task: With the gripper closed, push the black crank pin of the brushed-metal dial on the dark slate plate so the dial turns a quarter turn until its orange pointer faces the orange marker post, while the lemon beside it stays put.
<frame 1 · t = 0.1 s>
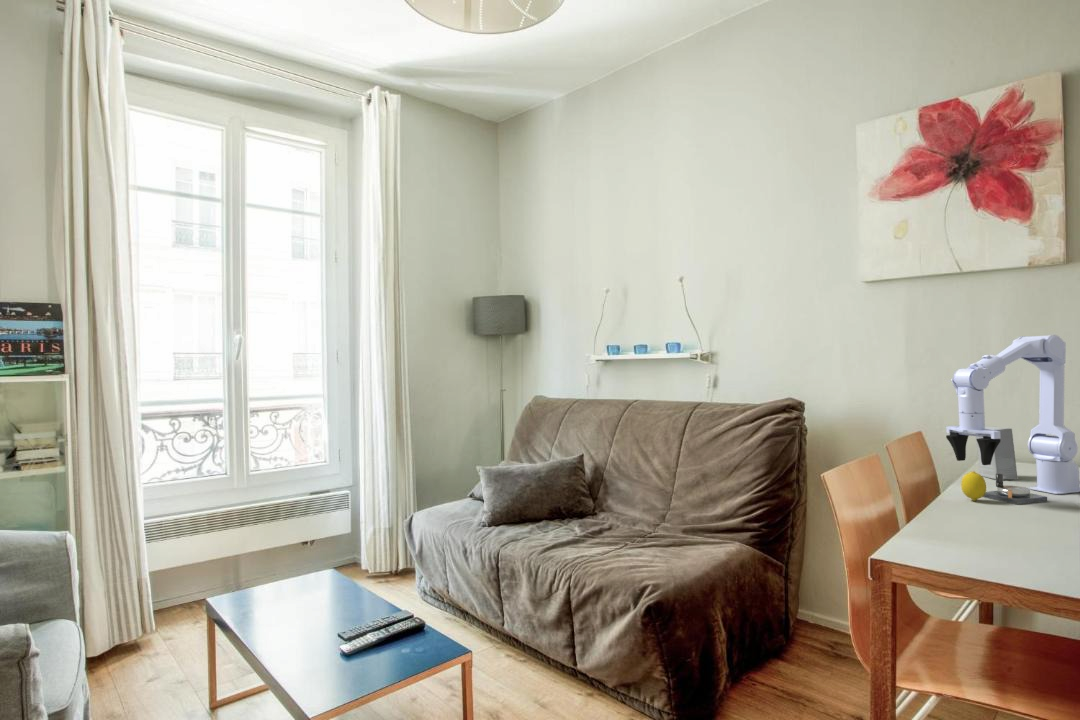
hand: (973, 462, 167), 10 cm above the table, fingers open, 7 cm apart
lemon: (974, 501, 165), on the table
skincare box: (996, 478, 193), on the table
dial plate: (1013, 498, 166), on the table
dial: (1013, 484, 166), point 4 cm above the table, hinge at 0.0°
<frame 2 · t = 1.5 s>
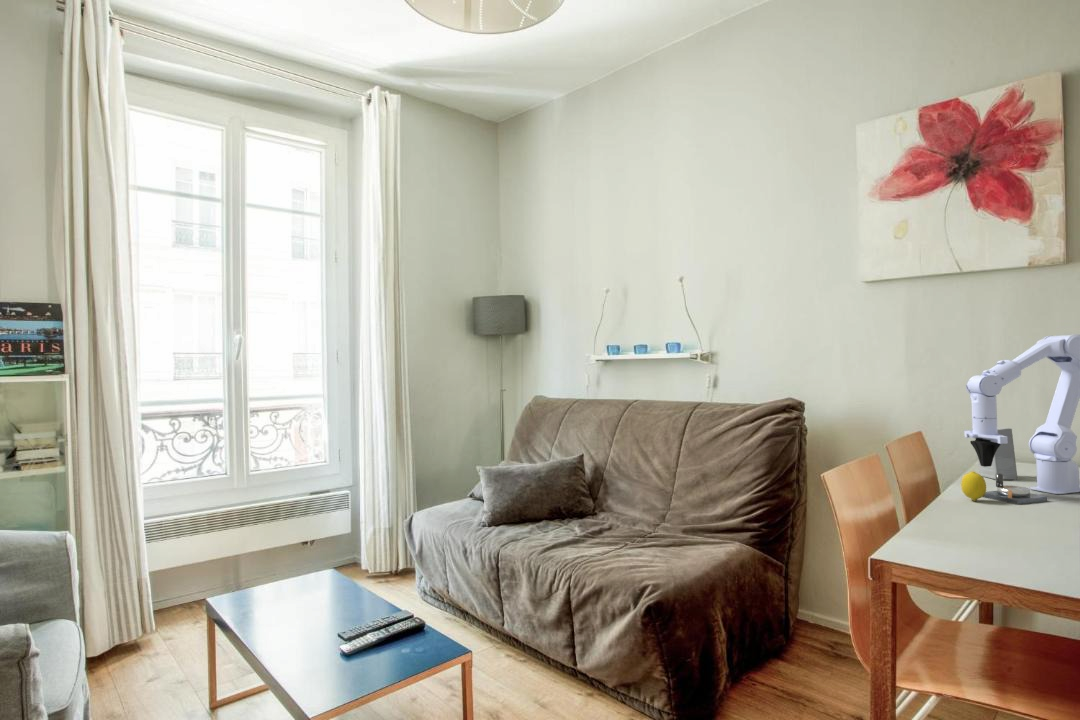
hand: (986, 466, 173), 8 cm above the table, fingers closed
nothing on the table moved.
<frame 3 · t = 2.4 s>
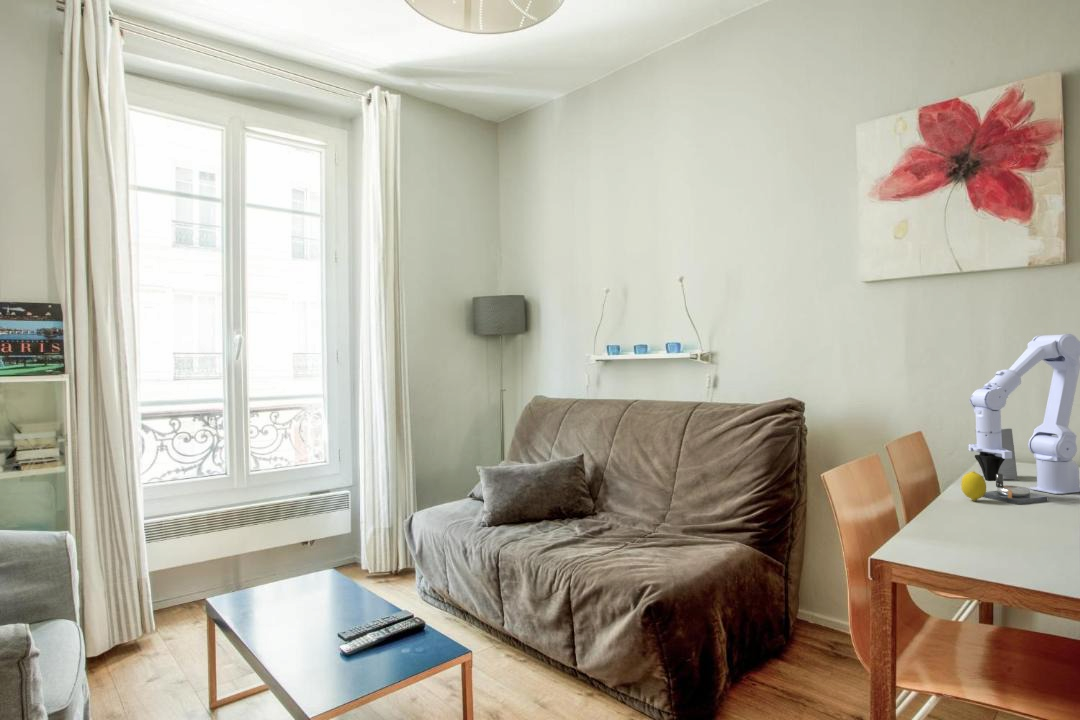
hand: (990, 480, 171), 4 cm above the table, fingers closed
nothing on the table moved.
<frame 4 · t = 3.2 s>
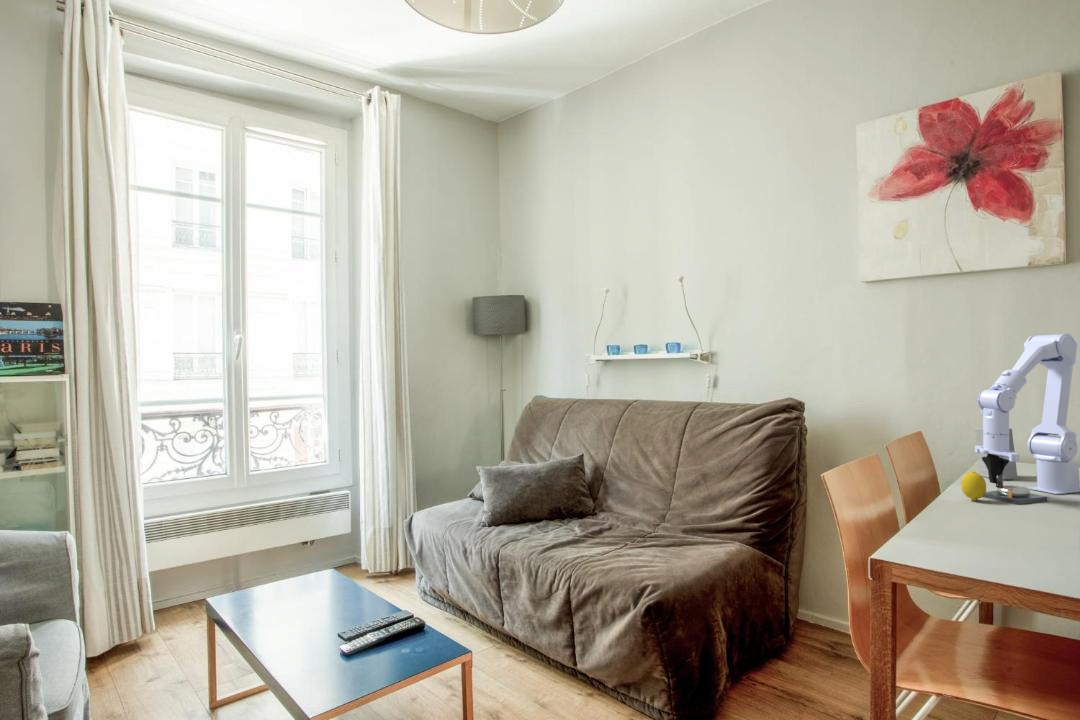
hand: (996, 483, 168), 4 cm above the table, fingers closed, pressing on dial
dial: (1013, 484, 166), point 4 cm above the table, hinge at 11.8°, touching gripper
everything else where it was.
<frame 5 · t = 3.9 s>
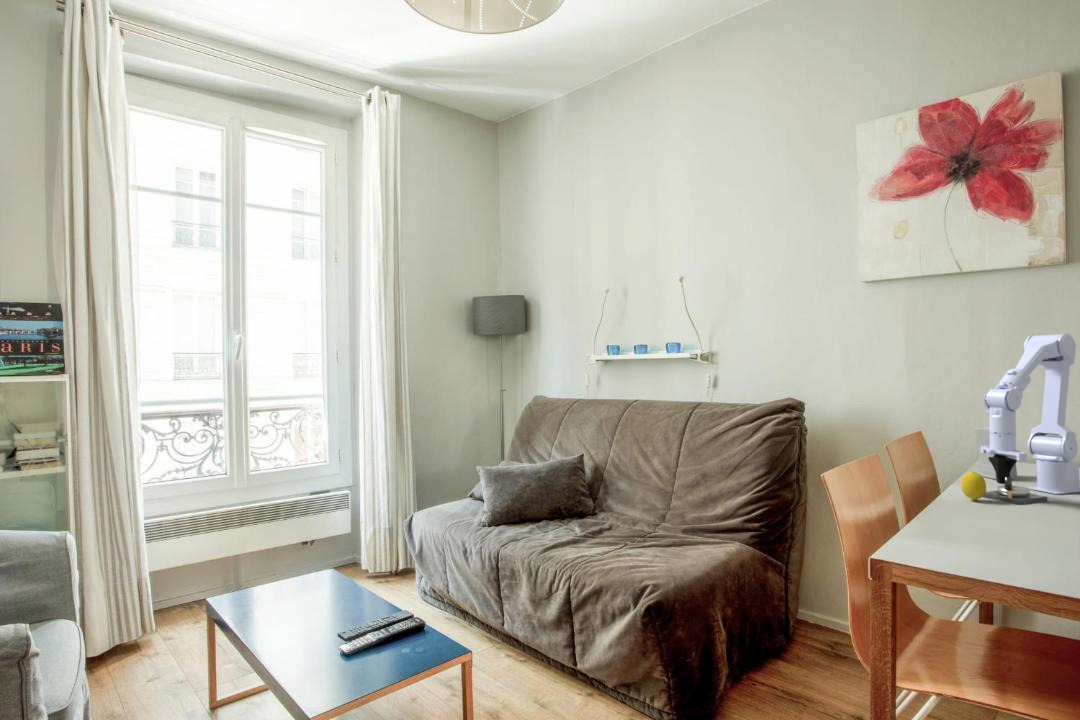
hand: (1003, 483, 165), 4 cm above the table, fingers closed, pressing on dial
dial: (1013, 484, 166), point 4 cm above the table, hinge at 78.1°, touching gripper
everything else where it was.
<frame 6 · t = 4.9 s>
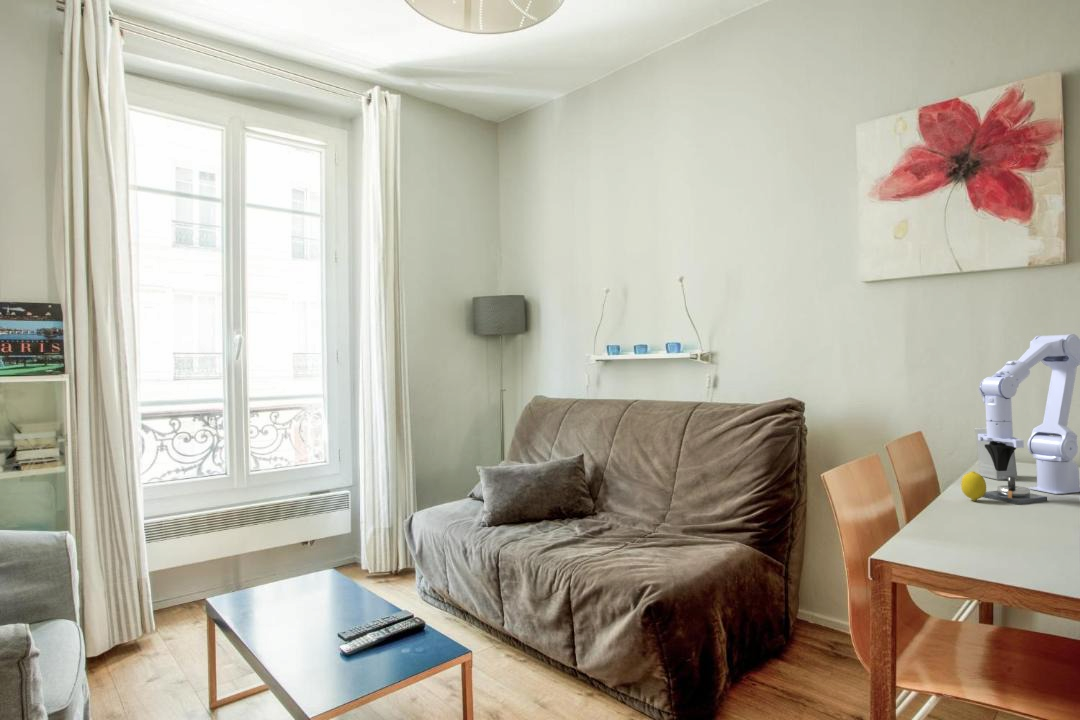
hand: (1001, 470, 167), 7 cm above the table, fingers closed
dial: (1013, 484, 166), point 4 cm above the table, hinge at 92.6°
everything else where it was.
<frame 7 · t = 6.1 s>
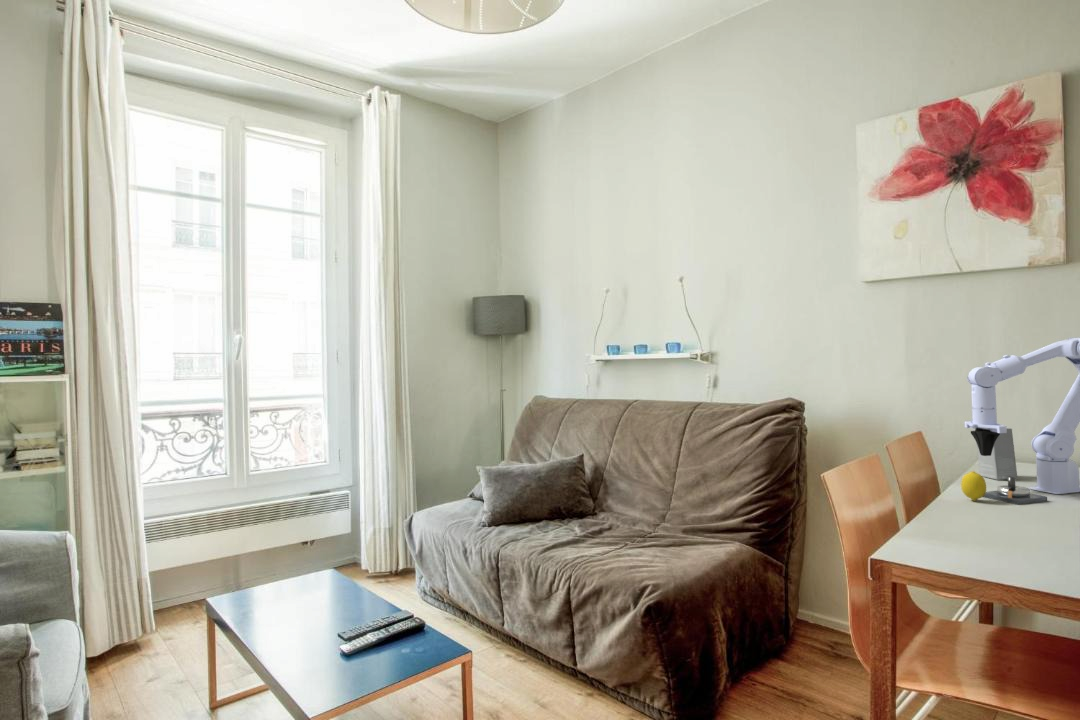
hand: (985, 455, 177), 10 cm above the table, fingers closed
nothing on the table moved.
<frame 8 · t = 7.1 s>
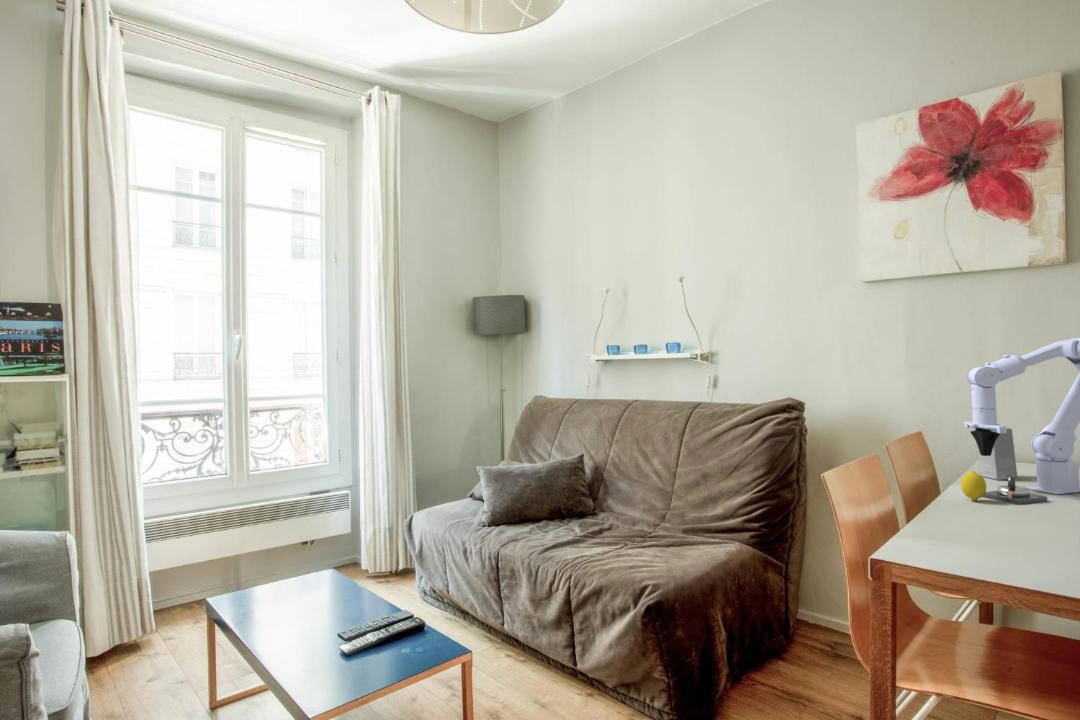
hand: (985, 455, 177), 10 cm above the table, fingers closed
nothing on the table moved.
at the end: dial at +93° (first picture: +0°); lemon moved 0.2 cm from its start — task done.
